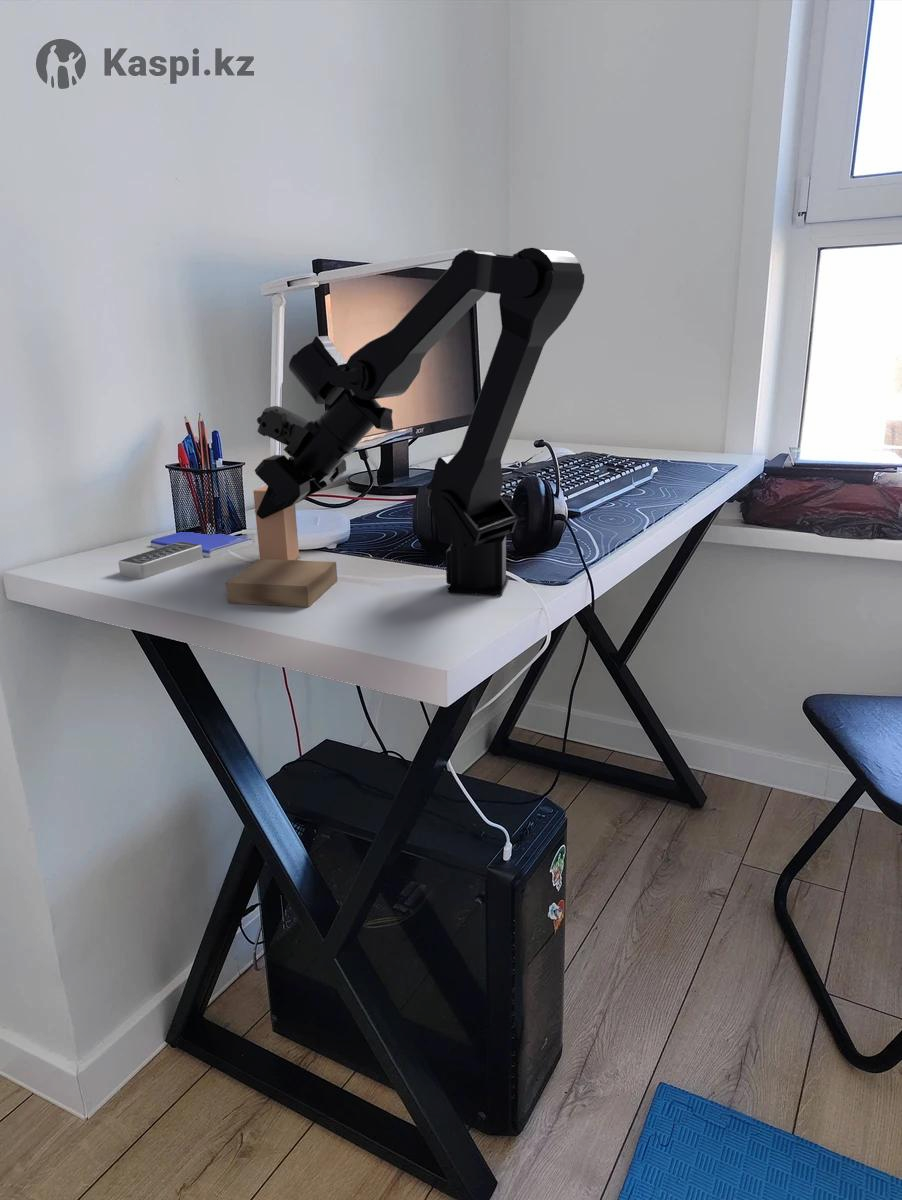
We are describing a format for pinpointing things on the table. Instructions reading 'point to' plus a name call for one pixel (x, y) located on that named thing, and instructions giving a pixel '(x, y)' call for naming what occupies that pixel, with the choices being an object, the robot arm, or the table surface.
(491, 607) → the table surface
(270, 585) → the plinth
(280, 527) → the block
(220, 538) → the hard drive
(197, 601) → the table surface
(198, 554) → the multiport hub
